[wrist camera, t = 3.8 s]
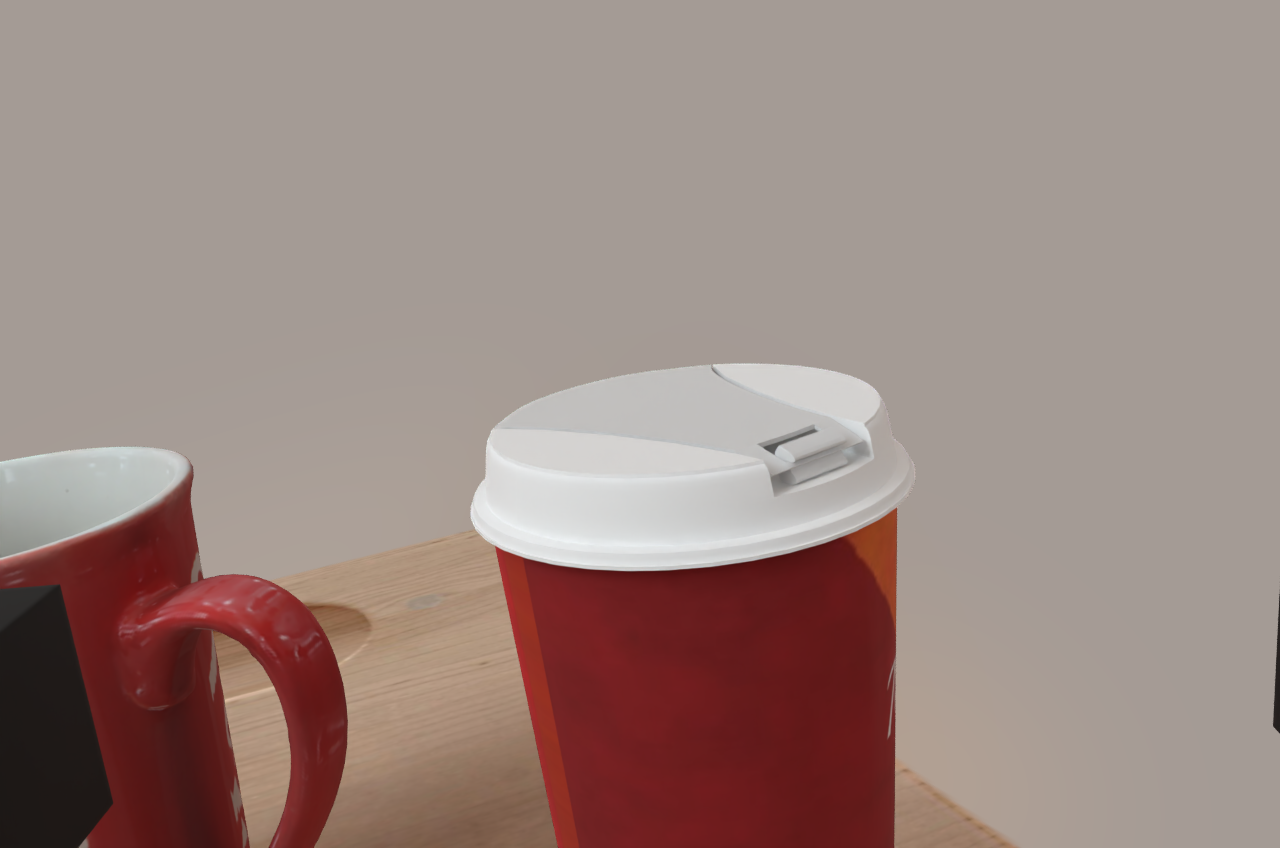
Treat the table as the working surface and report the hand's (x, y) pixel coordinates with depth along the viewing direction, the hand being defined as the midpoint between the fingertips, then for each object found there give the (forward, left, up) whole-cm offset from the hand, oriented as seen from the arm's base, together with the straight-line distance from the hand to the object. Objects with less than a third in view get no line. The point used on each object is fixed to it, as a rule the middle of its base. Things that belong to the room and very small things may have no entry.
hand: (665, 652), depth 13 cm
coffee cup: (+8, -6, -15) cm, 18 cm away
